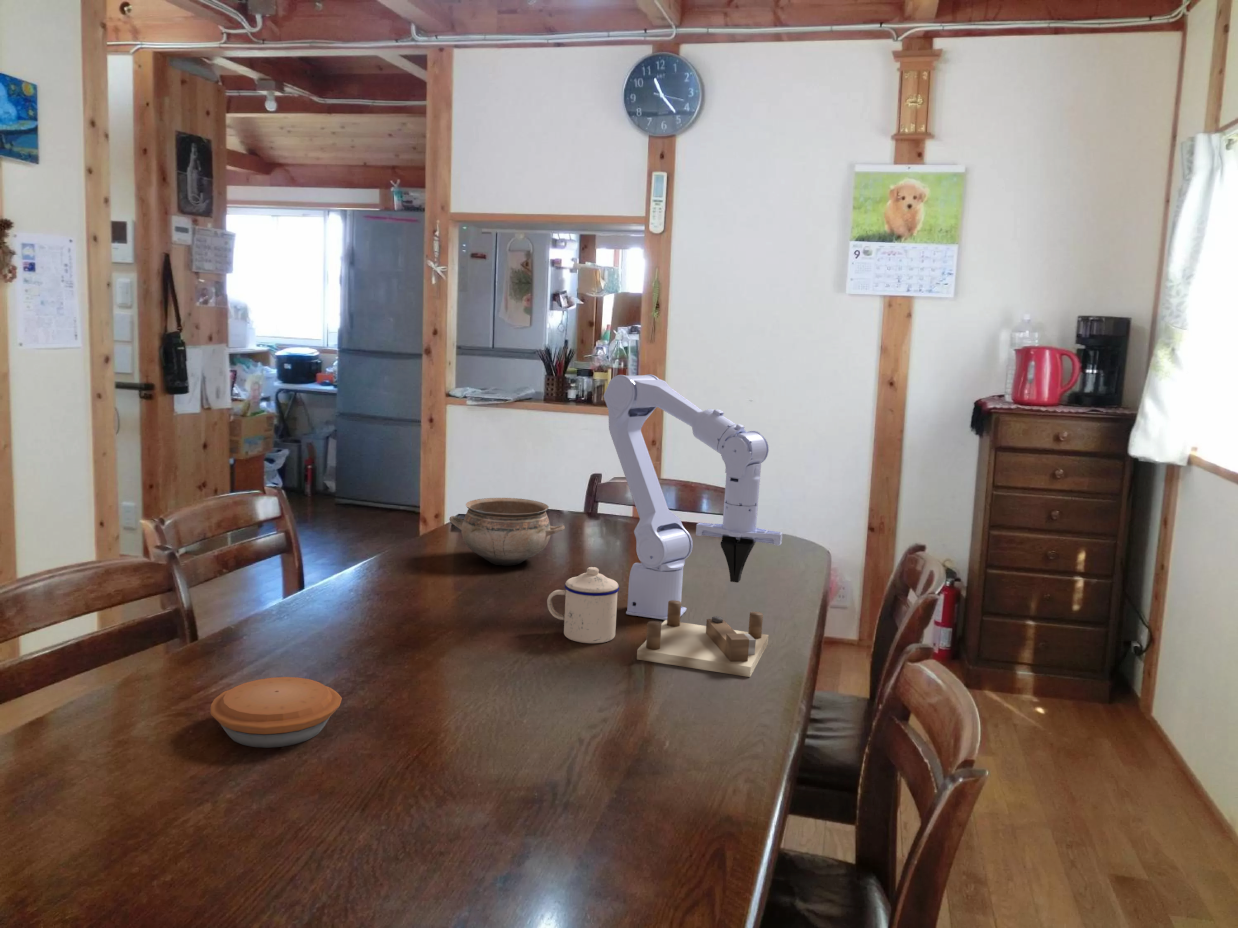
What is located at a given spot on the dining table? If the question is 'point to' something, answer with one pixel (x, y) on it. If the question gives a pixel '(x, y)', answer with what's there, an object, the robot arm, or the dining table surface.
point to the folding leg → (728, 639)
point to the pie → (275, 711)
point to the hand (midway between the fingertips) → (735, 580)
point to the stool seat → (698, 644)
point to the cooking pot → (506, 529)
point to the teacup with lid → (588, 607)
